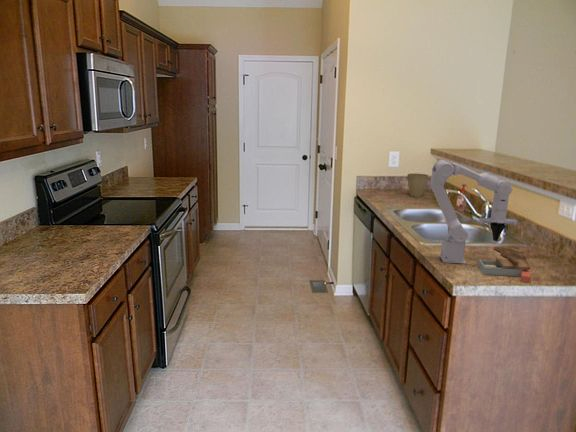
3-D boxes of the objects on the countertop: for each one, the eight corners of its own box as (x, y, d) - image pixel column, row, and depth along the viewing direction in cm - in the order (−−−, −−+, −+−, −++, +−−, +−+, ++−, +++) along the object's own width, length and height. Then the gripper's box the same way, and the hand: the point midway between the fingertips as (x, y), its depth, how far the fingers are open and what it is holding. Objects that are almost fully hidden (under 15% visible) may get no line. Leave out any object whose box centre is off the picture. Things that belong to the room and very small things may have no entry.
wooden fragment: (489, 246, 218) (489, 244, 218) (512, 247, 217) (513, 245, 217) (512, 265, 193) (512, 263, 193) (538, 266, 192) (539, 264, 192)
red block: (520, 281, 175) (521, 275, 174) (521, 274, 182) (522, 268, 182) (529, 283, 173) (530, 277, 173) (530, 276, 181) (531, 270, 180)
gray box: (484, 274, 181) (485, 267, 180) (477, 266, 190) (478, 259, 189) (521, 276, 179) (522, 269, 178) (513, 268, 188) (514, 262, 187)
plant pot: (430, 197, 330) (432, 176, 326) (413, 198, 326) (414, 176, 322) (419, 193, 344) (420, 172, 340) (401, 194, 340) (403, 173, 336)
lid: (502, 268, 179) (503, 262, 179) (495, 260, 188) (496, 254, 187) (529, 269, 178) (530, 263, 177) (521, 262, 187) (522, 256, 186)
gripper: (483, 210, 187) (479, 242, 190) (521, 212, 185) (516, 244, 188) (479, 206, 193) (475, 237, 197) (515, 208, 191) (511, 239, 195)
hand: (495, 240), depth 193 cm, fingers closed
